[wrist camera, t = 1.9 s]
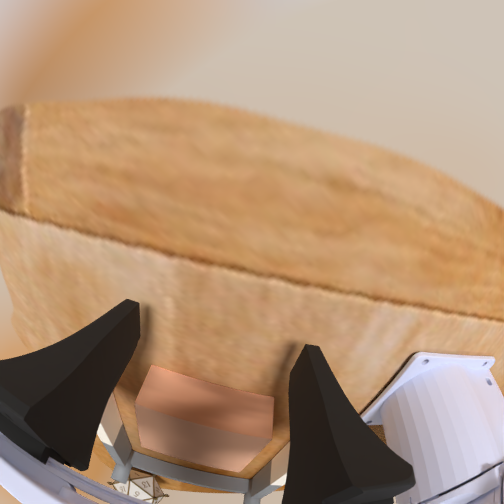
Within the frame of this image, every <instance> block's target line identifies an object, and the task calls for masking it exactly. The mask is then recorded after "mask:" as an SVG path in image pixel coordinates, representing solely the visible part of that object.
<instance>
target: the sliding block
mask: <svg viewBox="0 0 504 504" xmlns="http://www.w3.org/2000/svg"><path fill="white" fill-rule="evenodd" d="M135 411H136V418H137V425H138V431H139V437H140V443H141V447H144V448H147V449H150V450H153V451H156V452H159V453H162V454H165V455H168V456H171V457H175V458H178V459H182V460H185V461H189V462H193V463H197V464H201V465H205V466H209V467H214V468H219V469H224V470H229V471H235V472H240V471H241V470H242V469H243V468H244V467H245V466H246V465H247V464H248V463H249V462H250V461H251V460H252V459H254V458H255V457H256V455H257V454H258V453H259V452H260V451H261V450H262V449H263V448H264V447H265V446H266V445H267V444H268V443H269V442H270V441H271V440H272V432H273V413H274V397H270V396H265V395H260V394H255V393H250V392H246V391H241V390H237V389H233V388H229V387H225V386H221V385H217V384H213V383H209V382H206V381H202V380H199V379H195V378H192V377H188V376H185V375H182V374H179V373H176V372H173V371H169V370H166V369H164V368H161V367H158V366H155V365H151V367H150V369H149V371H148V374H147V376H146V378H145V380H144V383H143V385H142V387H141V389H140V392H139V394H138V396H137V398H136V401H135Z"/></svg>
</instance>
